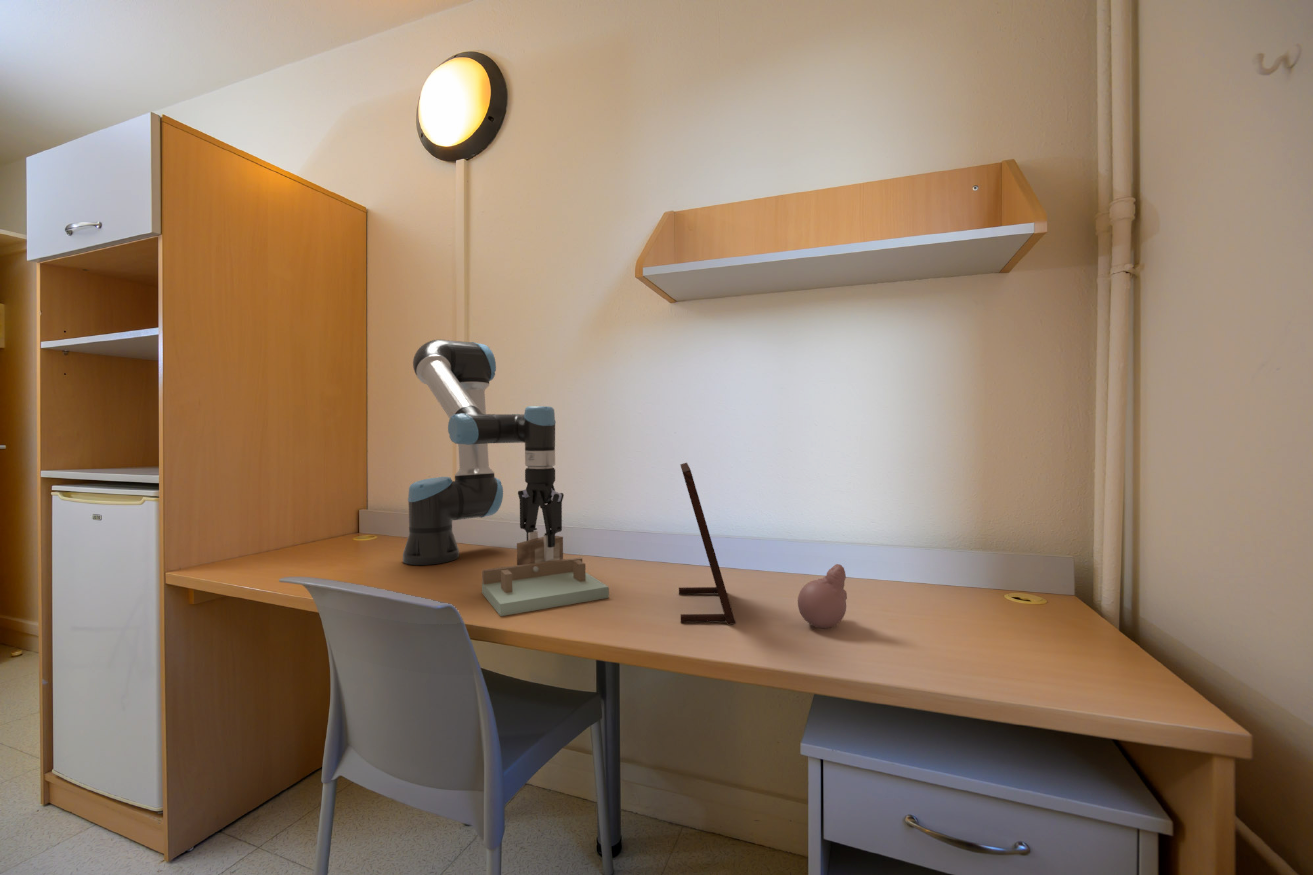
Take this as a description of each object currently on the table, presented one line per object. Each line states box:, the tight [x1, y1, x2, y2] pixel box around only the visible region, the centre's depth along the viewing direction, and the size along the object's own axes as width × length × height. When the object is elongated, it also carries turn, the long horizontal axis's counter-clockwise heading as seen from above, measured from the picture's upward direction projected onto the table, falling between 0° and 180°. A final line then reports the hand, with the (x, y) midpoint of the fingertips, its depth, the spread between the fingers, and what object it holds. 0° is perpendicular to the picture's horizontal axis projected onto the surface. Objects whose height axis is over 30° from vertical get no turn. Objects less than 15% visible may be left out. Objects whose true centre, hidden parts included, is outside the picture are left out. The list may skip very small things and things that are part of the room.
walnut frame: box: [516, 535, 564, 565], centre depth 142 cm, size 5×12×9 cm, turn 149°
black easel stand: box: [678, 462, 736, 626], centre depth 117 cm, size 21×11×30 cm, turn 179°
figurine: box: [797, 563, 848, 629], centre depth 107 cm, size 9×11×12 cm
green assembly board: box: [481, 556, 610, 617], centre depth 127 cm, size 18×24×6 cm
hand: (540, 558), depth 142 cm, fingers closed on walnut frame, 5 cm apart
